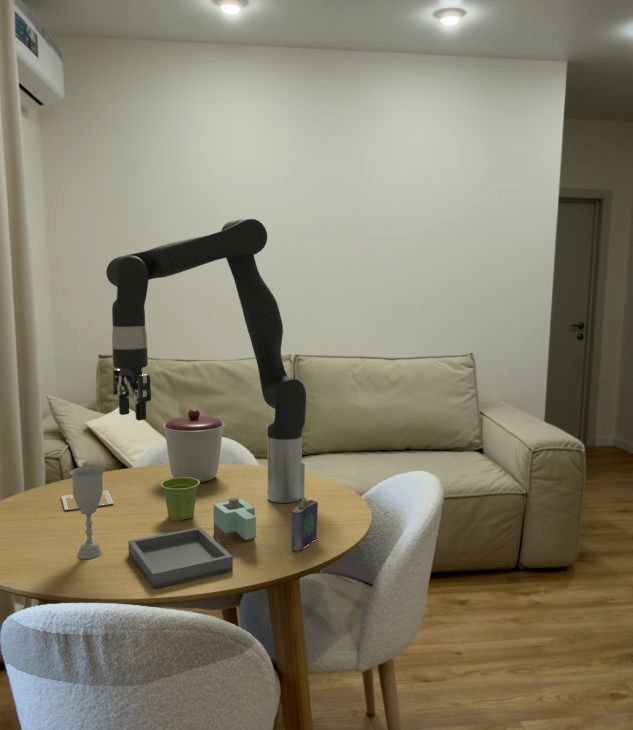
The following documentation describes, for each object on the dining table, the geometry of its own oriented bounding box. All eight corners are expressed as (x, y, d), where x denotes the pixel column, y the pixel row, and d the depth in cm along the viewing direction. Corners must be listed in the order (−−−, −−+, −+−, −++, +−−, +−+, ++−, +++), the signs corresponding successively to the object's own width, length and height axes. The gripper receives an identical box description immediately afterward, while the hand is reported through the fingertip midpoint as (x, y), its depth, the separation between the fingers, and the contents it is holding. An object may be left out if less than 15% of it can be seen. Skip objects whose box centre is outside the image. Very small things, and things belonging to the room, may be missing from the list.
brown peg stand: (241, 530, 146) (241, 492, 145) (254, 540, 140) (254, 501, 139) (213, 535, 143) (213, 497, 142) (225, 546, 137) (225, 506, 136)
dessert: (114, 507, 163) (113, 489, 162) (64, 514, 157) (64, 495, 157) (107, 493, 173) (107, 477, 173) (61, 499, 168) (60, 482, 167)
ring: (241, 517, 146) (241, 499, 145) (265, 535, 135) (265, 515, 135) (213, 523, 142) (213, 503, 142) (235, 541, 132) (235, 521, 131)
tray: (200, 540, 140) (200, 527, 140) (232, 570, 125) (232, 556, 124) (128, 554, 132) (128, 541, 132) (153, 589, 117) (153, 574, 116)
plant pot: (191, 525, 149) (191, 489, 148) (154, 521, 151) (154, 487, 150) (206, 511, 158) (205, 478, 157) (171, 508, 160) (170, 476, 159)
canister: (163, 471, 193) (162, 404, 191) (222, 468, 197) (221, 403, 195) (163, 489, 176) (162, 416, 173) (228, 485, 180) (227, 413, 178)
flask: (298, 553, 134) (299, 504, 132) (287, 550, 135) (287, 502, 134) (319, 538, 142) (320, 493, 140) (308, 536, 143) (308, 491, 142)
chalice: (78, 547, 136) (75, 466, 133) (110, 546, 136) (108, 466, 134) (68, 561, 128) (64, 476, 126) (101, 560, 129) (99, 475, 127)
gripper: (160, 347, 137) (162, 419, 139) (131, 343, 148) (134, 410, 150) (127, 349, 132) (130, 424, 134) (100, 345, 143) (103, 414, 145)
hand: (132, 417), depth 142 cm, fingers open, 8 cm apart
